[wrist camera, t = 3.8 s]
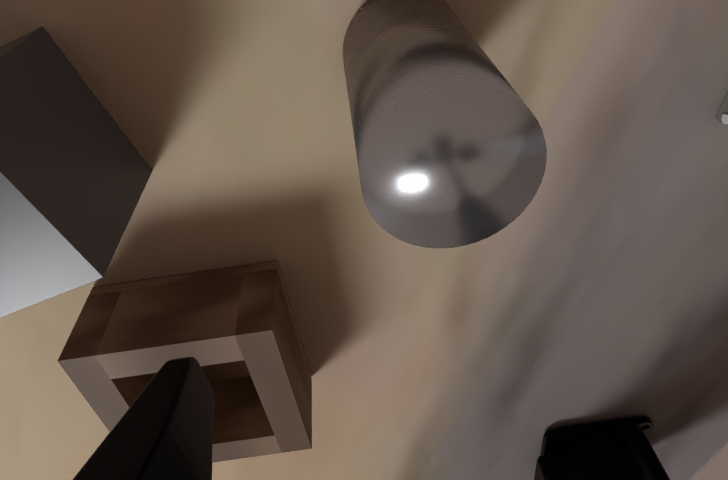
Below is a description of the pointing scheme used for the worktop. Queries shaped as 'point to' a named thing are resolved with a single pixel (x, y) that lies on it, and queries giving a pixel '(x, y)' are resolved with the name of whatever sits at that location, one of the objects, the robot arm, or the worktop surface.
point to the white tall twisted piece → (723, 111)
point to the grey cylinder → (436, 126)
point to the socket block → (201, 353)
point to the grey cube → (58, 176)
